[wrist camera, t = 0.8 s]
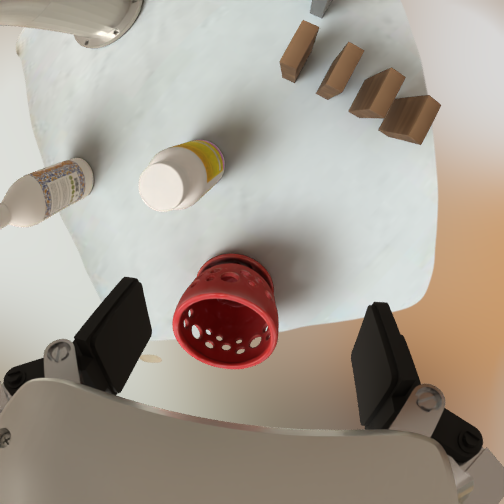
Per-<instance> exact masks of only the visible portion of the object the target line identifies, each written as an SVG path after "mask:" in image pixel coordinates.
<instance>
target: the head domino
mask: <svg viewBox="0 0 504 504" xmlns="http://www.w3.org/2000/svg"><path fill="white" fill-rule="evenodd" d="M331 2H332V0H312V4H311V10H310V13H311V14H313V15H315V16H318V17H320V18H322V17H323V15H324V13H325V12H326V10H327V8H328V7H329V5H330V3H331Z"/></svg>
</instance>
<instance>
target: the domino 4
mask: <svg viewBox="0 0 504 504" xmlns="http://www.w3.org/2000/svg"><path fill="white" fill-rule="evenodd" d="M440 106H441V105H440V104H439V103H438V102H437V101H436V100H435V99H433V98H432V97H431V96H430V95H426V96H416V97H407V98H399V99H394V101H393V103H392V105H391V107H390V109H389V111H388V113H387V115H386V117H385V118H384V120H383V122H382V124H381V126H380V128H379V131H381V132H382V133H384V134H385V135H387V136H388V137H392V138H396V139H400V140H404V141H408V142H412V143H415V144H419V145H421V144H422V142H423V140H424V138H425V136H426V135H427V133H428V131H429V129H430V127H431V125H432V123H433V121H434V119H435V117H436V115H437V113H438V111H439V109H440Z"/></svg>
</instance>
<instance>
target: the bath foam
mask: <svg viewBox="0 0 504 504" xmlns="http://www.w3.org/2000/svg"><path fill="white" fill-rule="evenodd" d="M92 187H93V173H92V170H91V168H90V166H89V164H88V163H87V162H86V161H85V160H83V159H81V158H73V159H70V160H66V161H63V162H60V163H57V164H55V165H52V166H49V167H46V168H43V169H41V170H38V171H35V172H33V173H30V174H28V175H25V176H23V177H22V178H20V179H18V180H17V181H16V182H15V183H14V184H13V185H12V186H11V187H10V188H9V190H8V192H7V193H6V195H5V197H4V199H3V201H2V203H0V229H2V228H3V227H5V226H7V225H8V224H9V225H13V226H17V227H31V226H34V225H37V224H39V223H40V222H42V221H44V220H45V219H47V218H49V217H51V216H52V215H54V214H56V213H57V212H59V211H61V210H63V209H65V208H66V207H68V206H70V205H72V204H74V203H76V202H78V201H79V200H81V199H83V198H85V197H86V196H88V195H89V193H90V192H91V190H92Z"/></svg>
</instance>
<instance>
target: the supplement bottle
mask: <svg viewBox="0 0 504 504" xmlns="http://www.w3.org/2000/svg"><path fill="white" fill-rule="evenodd" d="M224 169H225V160H224V156H223V154H222V152H221V151H220V149H219V148H218V147H217V146H216V145H215V144H213V143H211V142H209V141H206V140H194V141H190V142H187V143H183V144H180V145H177V146H173V147H170V148H167V149H164V150H162V151H160V152H159V153H158V154H156V155H155V156H154V157H153V159H152V160H151V161H150V163H149V165H148V167H147V168H146V169H145V170H144V171H143V172H142V174H141V176H140V179H139V192H140V195H141V198H142V199H143V201H144V202H145V203H146V205H148V206H149V207H150V208H152V209H153V210H156V211H160V212H166V211H170V210H181V209H186V208H188V207H190V206H192V205H194V204H195V203H196V202H197V201H198V200H199V199H200V198H201V197H202V196H203V195H204V194H206V193H207V192H208V191H209V190H210V189H211V188H212V187H213V186H214V185H215V184H216V183H217V182H218V181H219V180H220V179H221V177H222V175H223V173H224Z"/></svg>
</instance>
